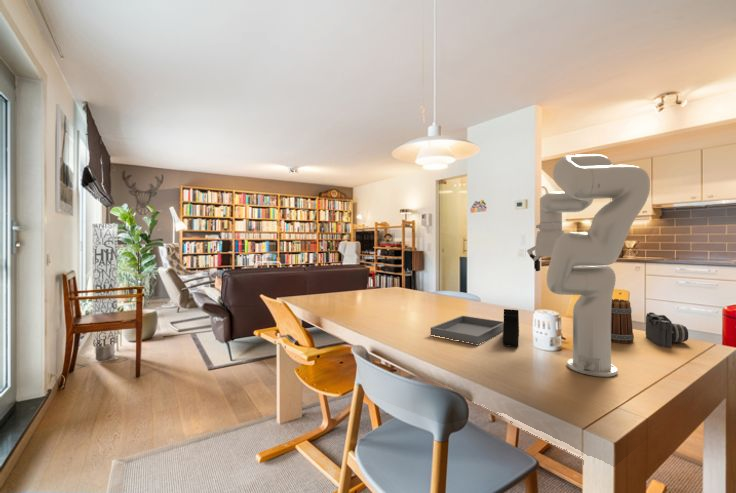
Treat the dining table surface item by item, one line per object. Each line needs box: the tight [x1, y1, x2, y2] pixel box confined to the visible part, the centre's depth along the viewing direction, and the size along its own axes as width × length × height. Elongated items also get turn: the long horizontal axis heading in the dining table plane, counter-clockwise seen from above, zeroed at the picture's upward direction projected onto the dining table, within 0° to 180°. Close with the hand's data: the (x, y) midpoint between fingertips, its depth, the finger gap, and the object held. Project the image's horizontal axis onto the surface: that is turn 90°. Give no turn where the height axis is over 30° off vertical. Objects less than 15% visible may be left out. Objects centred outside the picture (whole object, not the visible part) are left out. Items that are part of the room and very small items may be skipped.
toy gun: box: [502, 308, 520, 347], centre depth 131 cm, size 5×18×12 cm
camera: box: [645, 311, 689, 349], centre depth 126 cm, size 14×11×10 cm
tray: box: [430, 315, 504, 344], centre depth 142 cm, size 28×20×4 cm
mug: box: [611, 298, 635, 344], centre depth 131 cm, size 16×11×15 cm
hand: (551, 271), depth 132 cm, fingers open, 9 cm apart
